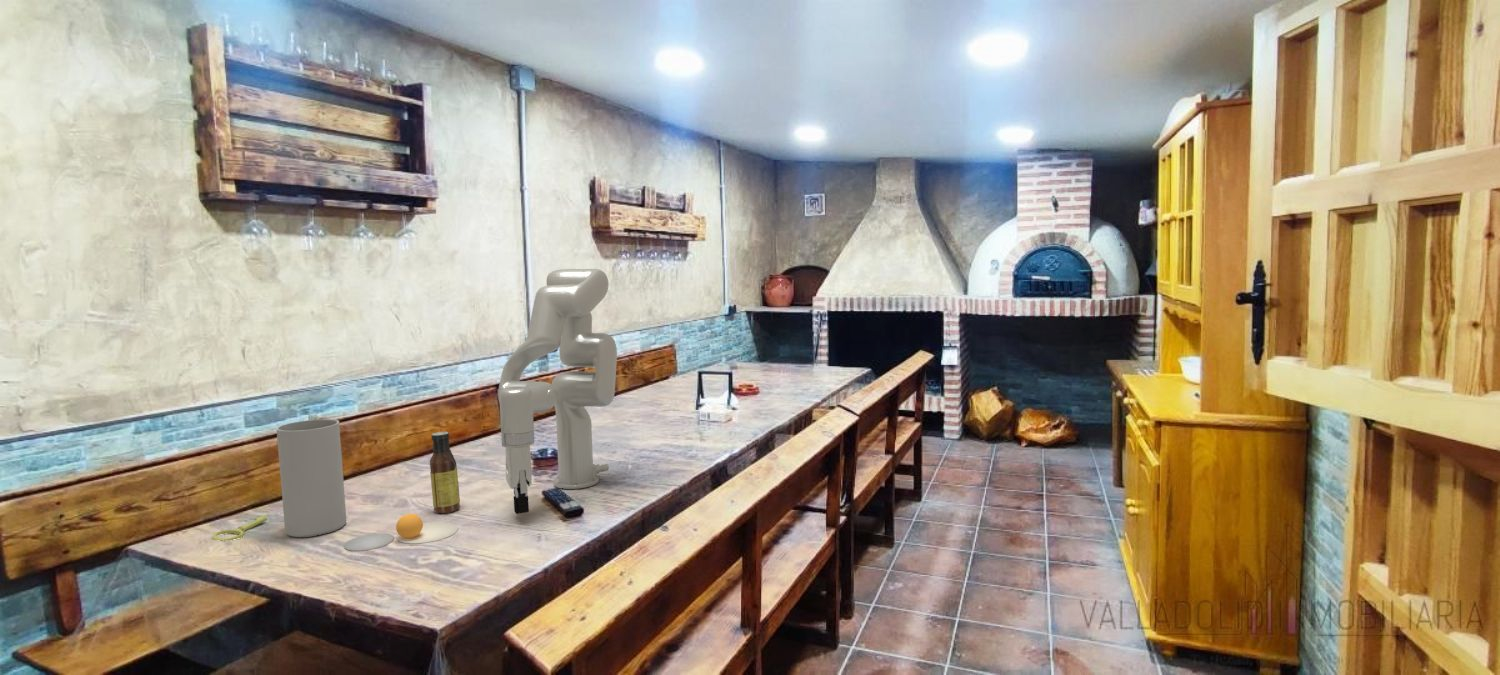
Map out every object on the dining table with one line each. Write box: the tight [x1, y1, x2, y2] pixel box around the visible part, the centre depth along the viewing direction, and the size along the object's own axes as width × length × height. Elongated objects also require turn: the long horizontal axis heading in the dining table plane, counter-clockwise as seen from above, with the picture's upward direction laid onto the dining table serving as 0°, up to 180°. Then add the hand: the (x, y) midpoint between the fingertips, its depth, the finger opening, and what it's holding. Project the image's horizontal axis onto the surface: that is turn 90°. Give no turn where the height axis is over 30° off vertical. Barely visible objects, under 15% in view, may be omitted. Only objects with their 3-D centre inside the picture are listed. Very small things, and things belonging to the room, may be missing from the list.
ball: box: [395, 513, 424, 539], centre depth 165 cm, size 6×6×6 cm
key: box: [211, 515, 268, 542], centre depth 171 cm, size 7×12×2 cm, turn 3°
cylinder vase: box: [276, 418, 347, 538], centre depth 171 cm, size 12×12×25 cm
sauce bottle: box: [429, 431, 461, 514], centre depth 183 cm, size 6×6×20 cm
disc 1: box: [343, 532, 395, 552], centre depth 163 cm, size 10×10×1 cm
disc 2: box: [396, 521, 459, 545], centre depth 168 cm, size 13×13×1 cm
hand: (521, 511), depth 177 cm, fingers closed
